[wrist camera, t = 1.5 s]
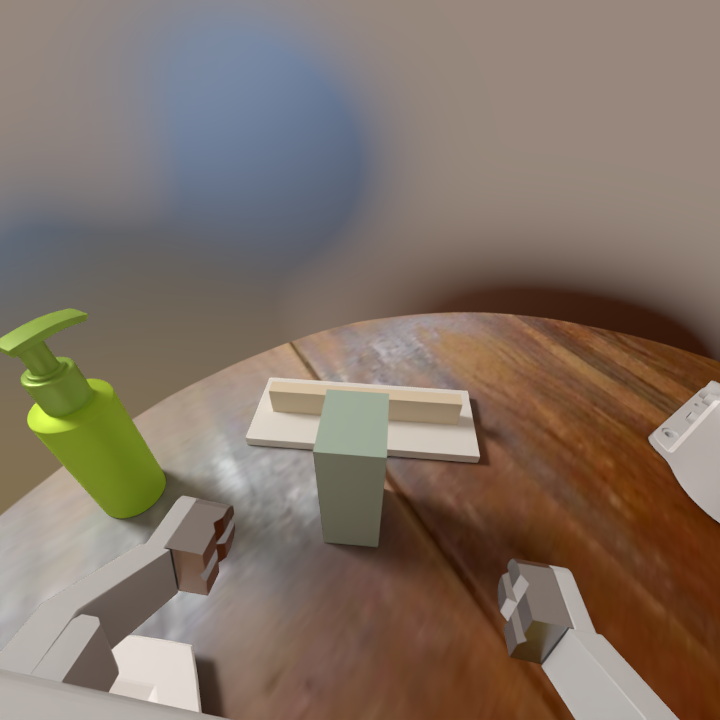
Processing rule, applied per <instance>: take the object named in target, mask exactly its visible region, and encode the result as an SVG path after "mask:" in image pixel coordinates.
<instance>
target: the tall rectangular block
mask: <svg viewBox="0 0 720 720" xmlns="http://www.w3.org/2000/svg"><path fill="white" fill-rule="evenodd" d="M388 413H389V394H387V393H372V392H358V391H344V390H329V389H327V391H326V395H325V400H324V404H323V409H322V414H321V418H320V423H319V427H318V432H317V436H316V441H315V445H314V450H313V455H314V464H315V472H316V480H317V488H318V497H319V505H320V513H321V521H322V529H323V538H324V542H327V543H338V544H348V545H359V546H369V547H378V542H379V532H380V522H381V512H382V502H383V491H384V481H385V471H386V461H387V439H388Z"/></svg>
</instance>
